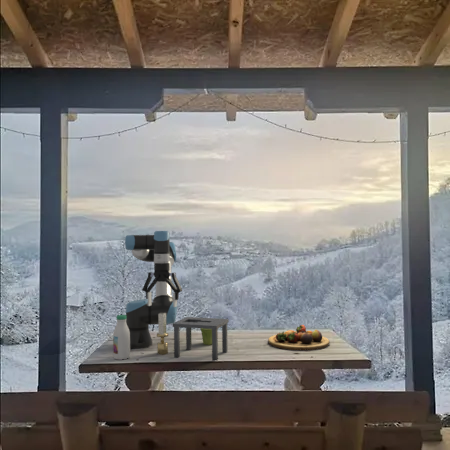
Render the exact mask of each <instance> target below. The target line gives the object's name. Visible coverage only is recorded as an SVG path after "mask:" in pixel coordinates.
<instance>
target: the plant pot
mask: <svg viewBox="0 0 450 450" xmlns="http://www.w3.org/2000/svg"><path fill="white" fill-rule="evenodd" d="M199 329H200V332H201V337H202V344H203V345H205V346H212V329H201V328H199Z"/></svg>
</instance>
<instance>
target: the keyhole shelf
mask: <svg viewBox="0 0 450 450" xmlns="http://www.w3.org/2000/svg"><path fill="white" fill-rule="evenodd" d="M229 321H230V320H229V318H214V317H197V316H196V317H193V316H186V317H184V318H182V319H179V320H177V321H175V323H173V324H172V328H173V347H174V348H173V357H174V358H176V359H179V358H180V357H181V349H180V348H181V345H180V344H181V343H180V342H181V340H180V338H181V337H180V332H181V331H180V330H181V329H180V328H185V336H186V337H185V338H186V339H185V342H186V343H185V346H186V347H185V348H186V349H185V350H186V351H191V350H192V329H200V328H201V329H212V344H211V347H212V348H211V351H212V353H211V354H212V355H211V356H212V358H211V359H212V360H211V361H213V360H217V359H218V360H219V355H218V354H219V353H218V352H219V351H218V350H219V347H218V346H219V345H218V338H219V336H218V333H219V331H218V329H220V328H222V329H221V338H222V339H221V341H222V350H221V351H222V353H223V354H227V353H229V352H228V350H229V349H228V323H229ZM201 329H200V330H201ZM218 360H217V361H218Z"/></svg>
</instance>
